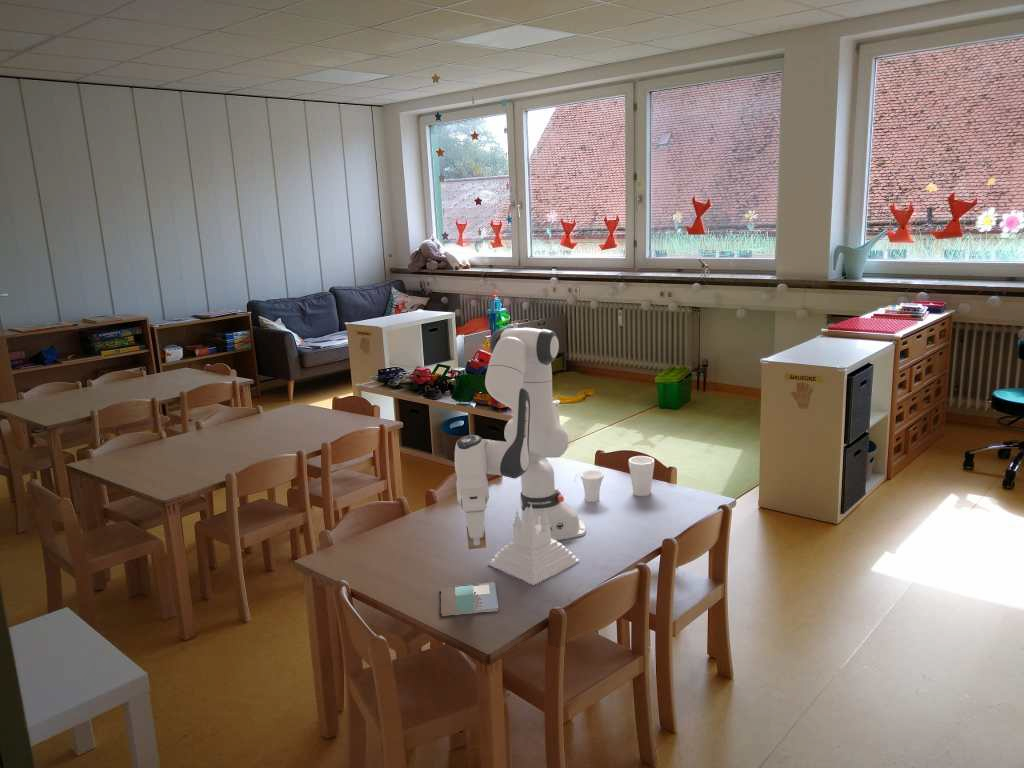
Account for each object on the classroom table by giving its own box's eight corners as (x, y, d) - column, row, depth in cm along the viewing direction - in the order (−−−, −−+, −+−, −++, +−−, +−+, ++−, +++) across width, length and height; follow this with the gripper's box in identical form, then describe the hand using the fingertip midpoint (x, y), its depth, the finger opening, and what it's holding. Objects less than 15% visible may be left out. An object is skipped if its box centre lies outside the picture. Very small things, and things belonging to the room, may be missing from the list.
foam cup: (656, 497, 286) (656, 463, 283) (631, 498, 286) (630, 465, 283) (652, 487, 295) (651, 455, 292) (627, 488, 295) (627, 456, 292)
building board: (494, 585, 227) (494, 581, 227) (498, 611, 213) (498, 607, 212) (440, 590, 226) (440, 586, 226) (440, 617, 211) (440, 613, 211)
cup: (590, 505, 281) (589, 480, 279) (576, 498, 289) (575, 472, 287) (610, 500, 285) (609, 474, 283) (595, 492, 293) (594, 467, 291)
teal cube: (474, 601, 217) (473, 585, 216) (475, 610, 212) (473, 593, 211) (456, 603, 216) (455, 586, 215) (456, 612, 211) (455, 595, 210)
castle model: (579, 562, 239) (577, 507, 235) (533, 586, 226) (530, 528, 221) (533, 544, 253) (530, 491, 249) (488, 565, 240) (484, 510, 236)
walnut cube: (467, 541, 222) (466, 525, 221) (485, 539, 222) (484, 523, 221) (468, 549, 217) (467, 532, 216) (486, 547, 217) (485, 531, 216)
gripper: (460, 481, 226) (464, 525, 229) (462, 508, 206) (466, 556, 209) (482, 479, 226) (485, 523, 229) (486, 506, 206) (489, 554, 210)
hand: (476, 539), depth 219 cm, fingers closed on walnut cube, 5 cm apart
